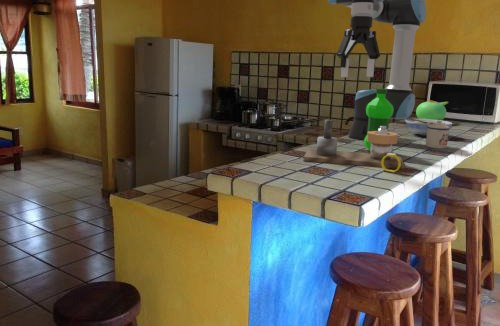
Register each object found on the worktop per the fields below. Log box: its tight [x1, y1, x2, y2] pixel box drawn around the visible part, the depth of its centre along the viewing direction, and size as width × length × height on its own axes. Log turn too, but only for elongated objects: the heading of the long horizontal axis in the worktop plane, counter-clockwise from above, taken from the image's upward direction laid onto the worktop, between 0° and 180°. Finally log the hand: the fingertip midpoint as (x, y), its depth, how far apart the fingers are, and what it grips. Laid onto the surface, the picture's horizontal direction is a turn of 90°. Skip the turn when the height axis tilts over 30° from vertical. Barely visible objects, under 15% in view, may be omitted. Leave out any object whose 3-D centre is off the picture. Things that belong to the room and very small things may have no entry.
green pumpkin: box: [415, 99, 449, 121], centre depth 279 cm, size 18×17×15 cm
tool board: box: [303, 119, 405, 170], centre depth 156 cm, size 34×16×14 cm, turn 77°
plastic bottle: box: [363, 88, 394, 152], centre depth 174 cm, size 10×10×25 cm
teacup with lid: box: [425, 120, 451, 150], centre depth 191 cm, size 12×9×12 cm
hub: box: [369, 126, 393, 160], centre depth 154 cm, size 7×7×12 cm
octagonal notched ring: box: [367, 131, 399, 145], centre depth 154 cm, size 10×10×3 cm
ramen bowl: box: [404, 117, 453, 137], centre depth 224 cm, size 25×23×8 cm
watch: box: [381, 152, 401, 173], centre depth 142 cm, size 6×3×6 cm, turn 55°
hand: (357, 77), depth 160 cm, fingers open, 13 cm apart
